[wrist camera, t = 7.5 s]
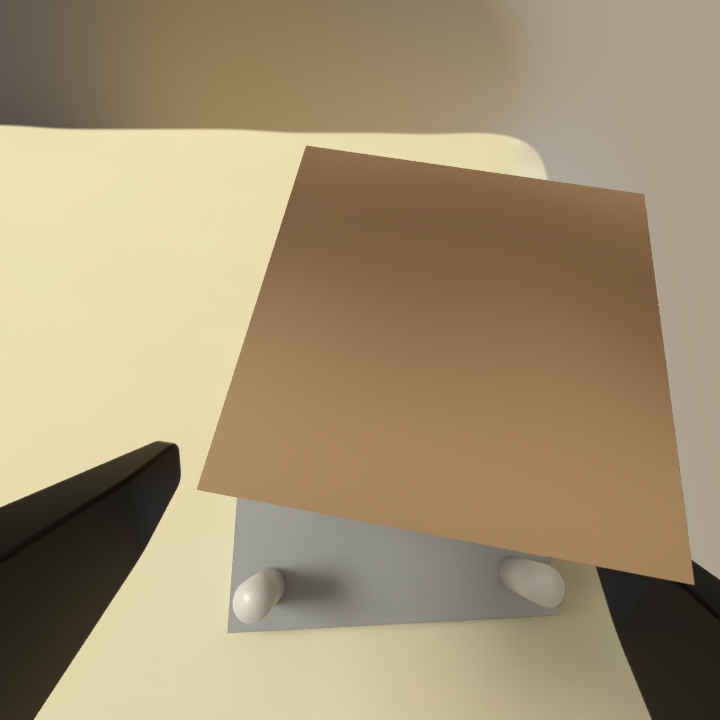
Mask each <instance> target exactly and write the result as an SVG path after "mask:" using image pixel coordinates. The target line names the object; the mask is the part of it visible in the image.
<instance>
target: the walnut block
mask: <svg viewBox="0 0 720 720" xmlns="http://www.w3.org/2000/svg"><path fill="white" fill-rule="evenodd" d="M197 490H201V491H206V492H211V493H217V494H222V495H227V496H232V497H238V498H243V499H248V500H253V501H258V502H264V503H269V504H274V505H279V506H285V507H290V508H295V509H300V510H305V511H311V512H316V513H321V514H326V515H332V516H337V517H342V518H347V519H352V520H358V521H363V522H368V523H373V524H379V525H384V526H389V527H394V528H399V529H405V530H410V531H415V532H420V533H426V534H431V535H436V536H441V537H446V538H452V539H457V540H462V541H467V542H473V543H478V544H483V545H488V546H493V547H499V548H504V549H509V550H514V551H520V552H525V553H530V554H535V555H540V556H546V557H551V558H556V559H561V560H566V561H572V562H577V563H582V564H587V565H593V566H598V567H603V568H608V569H613V570H619V571H624V572H629V573H634V574H640V575H645V576H650V577H655V578H660V579H666V580H671V581H676V582H681V583H687V584H692V585H695V584H694V577H693V569H692V561H691V553H690V546H689V538H688V530H687V523H686V515H685V507H684V499H683V492H682V485H681V476H680V468H679V461H678V453H677V446H676V438H675V430H674V422H673V414H672V407H671V399H670V391H669V384H668V376H667V368H666V361H665V353H664V345H663V337H662V329H661V322H660V314H659V306H658V298H657V291H656V284H655V275H654V268H653V260H652V252H651V245H650V237H649V229H648V221H647V213H646V206H645V198H644V194H638V193H631V192H624V191H617V190H610V189H603V188H596V187H589V186H582V185H576V184H568V183H561V182H555V181H548V180H541V179H534V178H527V177H520V176H513V175H506V174H499V173H492V172H485V171H478V170H471V169H464V168H457V167H451V166H444V165H437V164H430V163H423V162H416V161H409V160H402V159H395V158H388V157H381V156H374V155H367V154H360V153H353V152H346V151H339V150H332V149H326V148H319V147H312V146H306V148H305V151H304V154H303V157H302V160H301V164H300V167H299V170H298V173H297V176H296V179H295V182H294V186H293V189H292V192H291V195H290V198H289V201H288V204H287V208H286V211H285V214H284V217H283V220H282V223H281V226H280V230H279V233H278V236H277V239H276V242H275V245H274V248H273V252H272V255H271V258H270V261H269V264H268V267H267V271H266V274H265V277H264V280H263V283H262V286H261V289H260V293H259V296H258V299H257V302H256V305H255V308H254V311H253V315H252V318H251V321H250V324H249V327H248V330H247V333H246V337H245V340H244V343H243V346H242V349H241V352H240V355H239V359H238V362H237V365H236V368H235V371H234V374H233V377H232V381H231V384H230V387H229V390H228V393H227V396H226V400H225V403H224V406H223V409H222V412H221V415H220V418H219V422H218V425H217V428H216V431H215V434H214V437H213V440H212V444H211V447H210V450H209V453H208V456H207V459H206V462H205V466H204V469H203V472H202V475H201V478H200V481H199V484H198V488H197Z"/></svg>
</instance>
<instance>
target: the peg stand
mask: <svg viewBox="0 0 720 720" xmlns="http://www.w3.org/2000/svg"><path fill="white" fill-rule="evenodd" d="M564 596H565V583H564V580H563V578H562V576H561V575H560V573H559V572H558V571H557V570H556V569H555V568H553V567H552V566H550V562H549V557H546V556H540V555H535V554H530V553H525V552H520V551H514V550H509V549H504V548H499V547H493V546H488V545H483V544H478V543H473V542H467V541H462V540H457V539H452V538H446V537H441V536H436V535H431V534H426V533H420V532H415V531H410V530H405V529H399V528H394V527H389V526H384V525H379V524H373V523H368V522H363V521H358V520H352V519H347V518H342V517H337V516H332V515H326V514H321V513H316V512H311V511H305V510H300V509H295V508H290V507H285V506H279V505H274V504H269V503H264V502H258V501H253V500H248V499H243V498H238V497H237V508H236V522H235V536H234V550H233V563H232V577H231V591H230V605H229V619H228V633H239V632H257V631H276V630H294V629H312V628H330V627H349V626H367V625H385V624H403V623H422V622H440V621H458V620H477V619H495V618H513V617H531V616H550V615H560V612H559V607H558V605H559V604H560V603H561V602H562V601H563V599H564Z"/></svg>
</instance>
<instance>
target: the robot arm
mask: <svg viewBox="0 0 720 720" xmlns="http://www.w3.org/2000/svg"><path fill="white" fill-rule="evenodd" d="M180 478H181V469H180V456H179V448H178V446H177V445H176V444H175V443H170V442H163V441H156V442H153V443H151V444H148V445H146V446H144V447H141V448H139V449H137V450H134V451H132V452H130V453H127V454H125V455H123V456H120V457H118V458H115V459H113V460H111V461H108V462H106V463H104V464H101V465H99V466H97V467H94V468H92V469H90V470H87V471H85V472H83V473H80V474H78V475H75V476H73V477H71V478H68V479H66V480H64V481H61V482H59V483H57V484H54V485H52V486H50V487H47V488H45V489H42V490H40V491H38V492H35V493H33V494H31V495H28V496H26V497H24V498H21V499H19V500H17V501H14V502H12V503H9V504H7V505H5V506H2V507H0V720H34V718H35V717H36V715H37V714H38V712H39V711H40V709H41V708H42V706H43V705H44V703H45V702H46V700H47V699H48V697H49V696H50V694H51V693H52V691H53V689H54V688H55V686H56V685H57V683H58V682H59V680H60V679H61V677H62V676H63V674H64V673H65V671H66V670H67V668H68V667H69V665H70V664H71V662H72V661H73V659H74V657H75V656H76V654H77V653H78V651H79V650H80V648H81V647H82V645H83V644H84V642H85V641H86V639H87V638H88V636H89V635H90V633H91V632H92V630H93V629H94V627H95V625H96V624H97V622H98V621H99V619H100V618H101V616H102V615H103V613H104V612H105V610H106V609H107V607H108V606H109V604H110V603H111V601H112V600H113V598H114V597H115V595H116V593H117V592H118V590H119V589H120V587H121V586H122V584H123V583H124V581H125V580H126V578H127V577H128V575H129V574H130V572H131V571H132V569H133V568H134V566H135V565H136V563H137V561H138V560H139V558H140V557H141V555H142V553H143V552H144V550H145V548H146V546H147V544H148V543H149V541H150V539H151V537H152V535H153V533H154V531H155V529H156V527H157V525H158V523H159V522H160V520H161V518H162V516H163V514H164V512H165V510H166V508H167V506H168V504H169V502H170V501H171V499H172V497H173V495H174V493H175V491H176V489H177V487H178V485H179V482H180ZM691 561H692V560H691ZM596 569H597V572H598V575H599V578H600V582H601V585H602V588H603V591H604V594H605V598H606V601H607V604H608V607H609V611H610V614H611V617H612V620H613V623H614V626H615V629H616V632H617V635H618V638H619V640H620V643H621V646H622V648H623V651H624V653H625V656H626V658H627V660H628V663H629V665H630V668H631V670H632V673H633V675H634V678H635V680H636V682H637V685H638V687H639V690H640V692H641V695H642V697H643V700H644V702H645V704H646V707H647V709H648V712H649V714H650V717H651V719H652V720H720V580H719V579H718V578H716V577H715V576H714V575H712V574H711V573H709V572H708V571H707V570H705V569H704V568H702V567H701V566H699V565H698V564H697V563H695V562H694V561H692V569H693V577H694V584H695V585H692V584H687V583H681V582H676V581H671V580H666V579H660V578H655V577H650V576H645V575H640V574H634V573H629V572H624V571H619V570H613V569H608V568H603V567H598V566H596Z"/></svg>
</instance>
